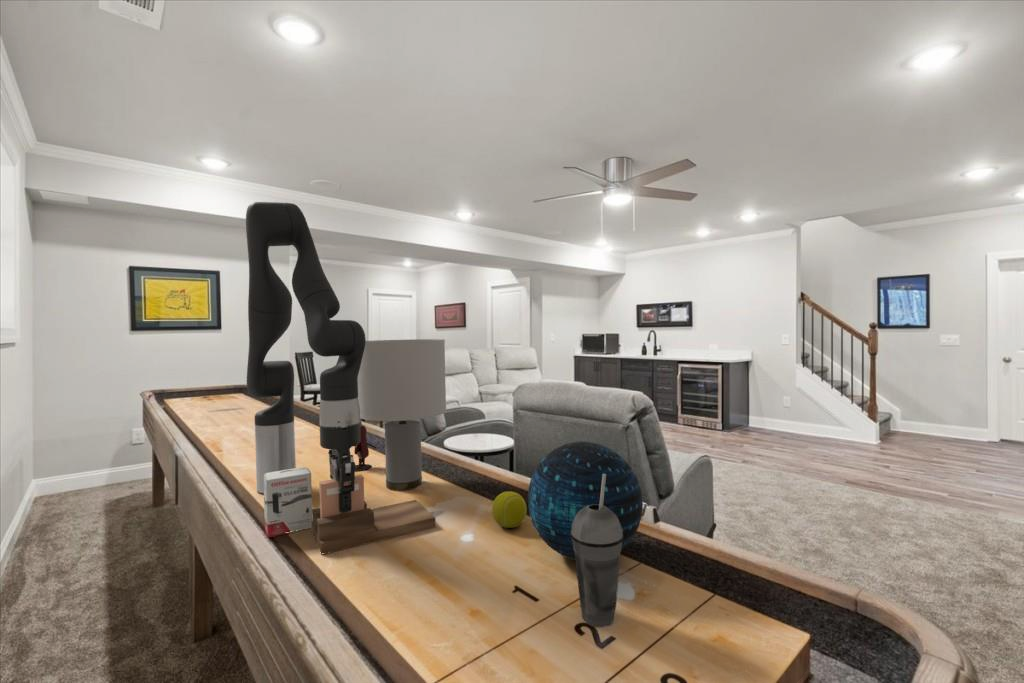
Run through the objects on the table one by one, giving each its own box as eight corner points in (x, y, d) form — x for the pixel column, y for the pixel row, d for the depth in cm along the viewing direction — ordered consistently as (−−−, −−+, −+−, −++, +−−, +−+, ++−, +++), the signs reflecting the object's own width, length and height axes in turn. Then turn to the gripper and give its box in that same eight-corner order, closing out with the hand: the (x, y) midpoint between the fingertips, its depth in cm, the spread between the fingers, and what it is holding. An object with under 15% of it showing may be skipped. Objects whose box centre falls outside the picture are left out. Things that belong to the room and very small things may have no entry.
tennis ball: (533, 528, 95) (532, 494, 95) (503, 536, 92) (502, 501, 92) (515, 517, 101) (514, 484, 101) (486, 524, 98) (485, 490, 98)
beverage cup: (566, 603, 69) (564, 467, 69) (615, 600, 70) (613, 465, 69) (578, 635, 62) (575, 484, 61) (632, 631, 62) (630, 481, 62)
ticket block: (311, 531, 96) (311, 506, 96) (415, 508, 107) (415, 486, 107) (321, 554, 86) (320, 527, 86) (435, 526, 97) (434, 502, 97)
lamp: (465, 479, 128) (462, 339, 127) (403, 506, 108) (399, 341, 108) (404, 467, 140) (401, 339, 139) (339, 490, 121) (335, 341, 120)
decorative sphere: (506, 551, 86) (504, 442, 85) (583, 522, 98) (582, 426, 97) (587, 600, 70) (585, 466, 69) (667, 558, 82) (666, 444, 81)
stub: (320, 527, 92) (319, 481, 92) (362, 518, 96) (361, 474, 96) (322, 531, 90) (321, 484, 90) (364, 521, 95) (363, 477, 94)
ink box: (267, 538, 93) (265, 479, 93) (264, 530, 97) (262, 473, 97) (313, 528, 98) (311, 471, 97) (309, 520, 102) (307, 465, 102)
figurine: (354, 464, 144) (353, 415, 144) (377, 465, 143) (376, 415, 143) (344, 471, 137) (343, 420, 137) (368, 471, 136) (367, 420, 136)
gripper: (314, 418, 97) (316, 499, 98) (326, 430, 85) (328, 523, 85) (351, 414, 101) (354, 493, 101) (368, 425, 89) (370, 514, 89)
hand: (342, 506), depth 93 cm, fingers open, 5 cm apart
